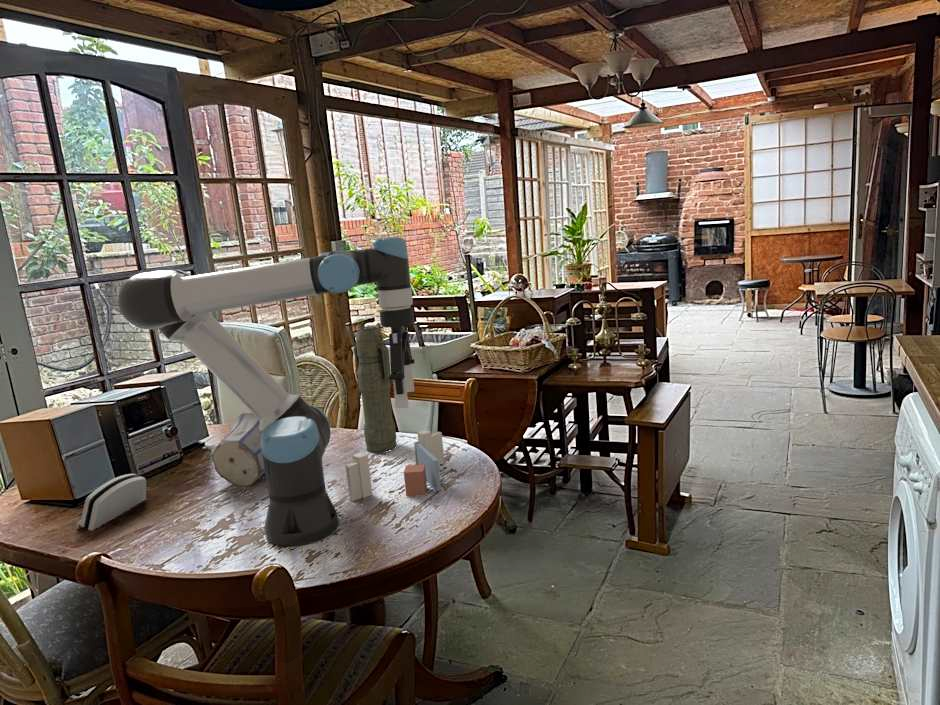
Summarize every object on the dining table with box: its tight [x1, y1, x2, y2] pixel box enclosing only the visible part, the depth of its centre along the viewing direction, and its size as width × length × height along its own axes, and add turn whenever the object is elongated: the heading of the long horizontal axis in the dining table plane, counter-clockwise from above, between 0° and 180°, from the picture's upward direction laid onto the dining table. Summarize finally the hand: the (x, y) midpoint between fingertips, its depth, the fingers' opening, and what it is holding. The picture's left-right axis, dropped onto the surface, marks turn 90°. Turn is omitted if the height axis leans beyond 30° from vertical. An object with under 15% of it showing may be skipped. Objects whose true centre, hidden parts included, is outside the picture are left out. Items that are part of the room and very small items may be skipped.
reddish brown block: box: [403, 464, 428, 497], centre depth 156 cm, size 4×4×6 cm
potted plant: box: [211, 411, 265, 487], centre depth 180 cm, size 18×18×30 cm
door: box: [413, 441, 442, 492], centre depth 161 cm, size 16×1×8 cm, turn 22°
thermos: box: [353, 325, 398, 454], centre depth 186 cm, size 9×12×35 cm
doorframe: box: [345, 429, 445, 502], centre depth 163 cm, size 29×2×10 cm, turn 134°
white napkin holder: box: [75, 473, 147, 531], centre depth 157 cm, size 17×5×10 cm, turn 164°
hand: (405, 399), depth 152 cm, fingers open, 13 cm apart
